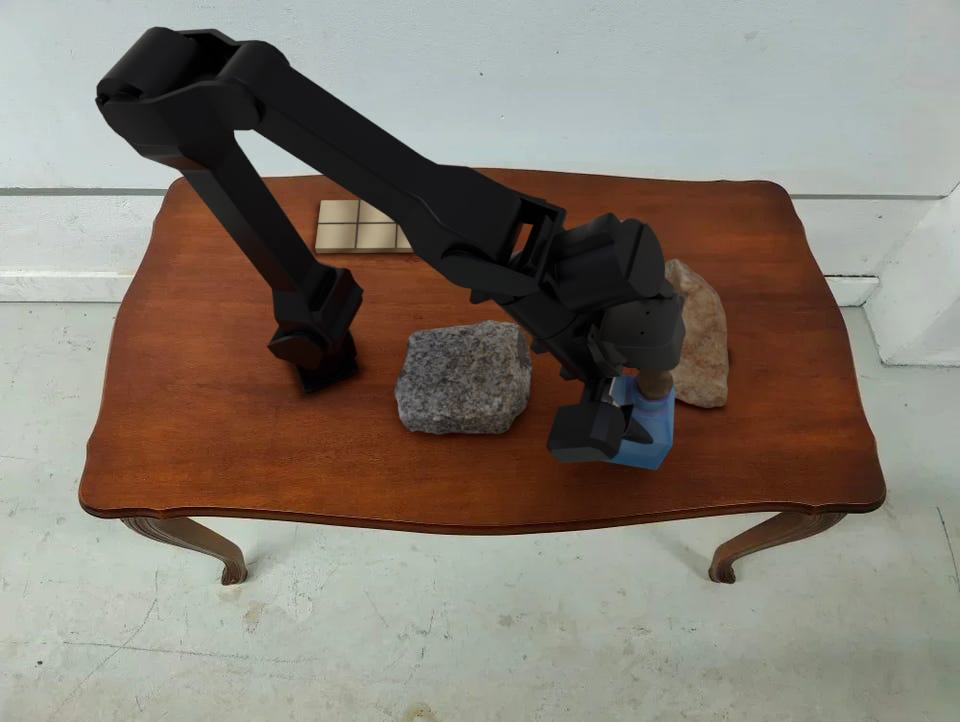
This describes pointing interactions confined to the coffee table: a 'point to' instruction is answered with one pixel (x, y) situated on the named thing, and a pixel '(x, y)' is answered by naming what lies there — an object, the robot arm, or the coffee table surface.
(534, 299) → the robot arm
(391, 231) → the board
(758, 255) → the coffee table surface
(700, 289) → the stone
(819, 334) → the coffee table surface
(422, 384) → the rock
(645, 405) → the perfume bottle
